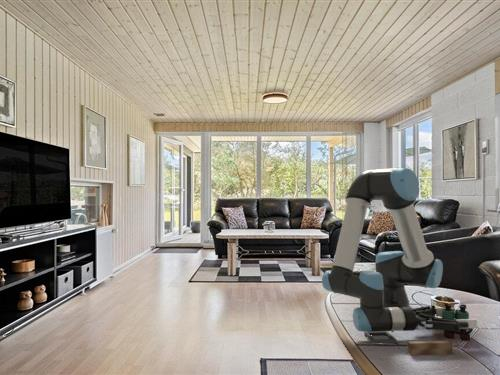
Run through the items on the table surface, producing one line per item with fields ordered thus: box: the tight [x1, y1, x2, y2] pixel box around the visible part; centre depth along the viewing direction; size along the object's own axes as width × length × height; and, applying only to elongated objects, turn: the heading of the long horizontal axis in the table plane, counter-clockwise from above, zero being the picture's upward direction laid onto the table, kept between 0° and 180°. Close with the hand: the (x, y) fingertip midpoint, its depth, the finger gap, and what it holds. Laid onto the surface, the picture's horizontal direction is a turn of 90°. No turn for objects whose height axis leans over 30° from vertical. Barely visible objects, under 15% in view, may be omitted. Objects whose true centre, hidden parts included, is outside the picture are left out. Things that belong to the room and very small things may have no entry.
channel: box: [407, 340, 454, 356], centre depth 120 cm, size 13×25×4 cm, turn 2°
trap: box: [363, 331, 398, 344], centre depth 120 cm, size 8×8×1 cm
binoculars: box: [441, 302, 474, 342], centre depth 121 cm, size 9×11×10 cm
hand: (464, 317), depth 121 cm, fingers open, 11 cm apart
